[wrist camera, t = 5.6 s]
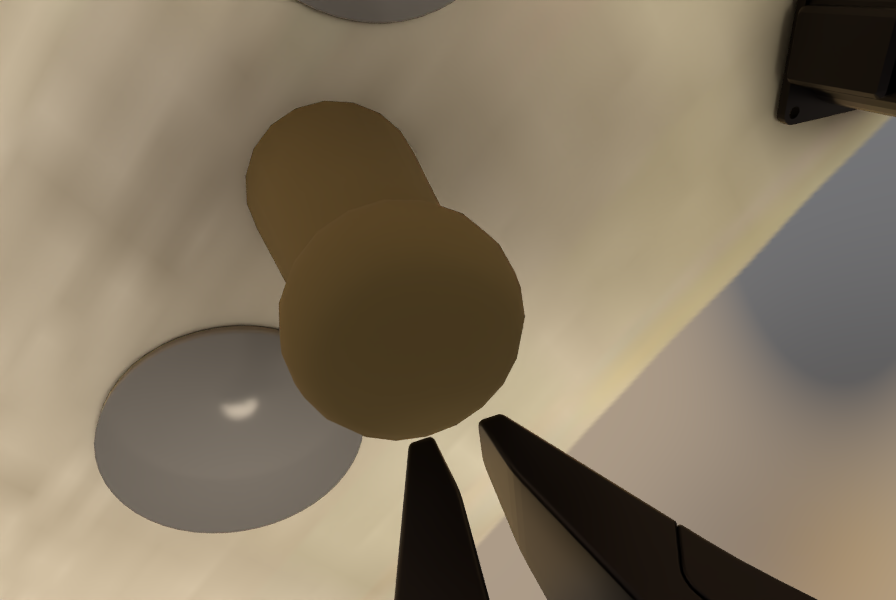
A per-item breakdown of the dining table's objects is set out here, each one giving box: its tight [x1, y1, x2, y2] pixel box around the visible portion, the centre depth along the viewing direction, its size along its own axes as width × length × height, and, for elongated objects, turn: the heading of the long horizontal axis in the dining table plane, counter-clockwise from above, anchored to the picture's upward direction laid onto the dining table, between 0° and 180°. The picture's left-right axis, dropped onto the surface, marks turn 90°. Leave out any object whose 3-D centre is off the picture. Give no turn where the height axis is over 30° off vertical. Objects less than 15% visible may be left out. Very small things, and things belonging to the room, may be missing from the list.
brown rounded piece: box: [246, 101, 525, 441], centre depth 15 cm, size 6×6×11 cm
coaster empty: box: [94, 326, 363, 533], centre depth 23 cm, size 10×10×1 cm
